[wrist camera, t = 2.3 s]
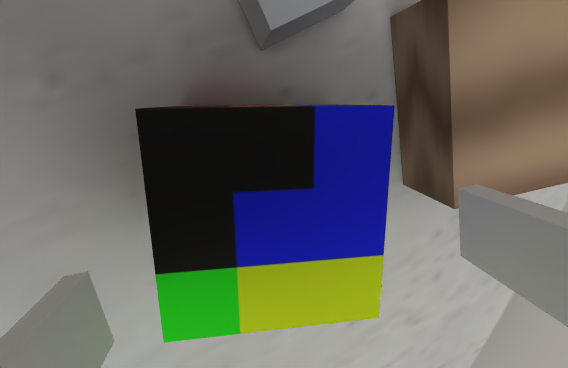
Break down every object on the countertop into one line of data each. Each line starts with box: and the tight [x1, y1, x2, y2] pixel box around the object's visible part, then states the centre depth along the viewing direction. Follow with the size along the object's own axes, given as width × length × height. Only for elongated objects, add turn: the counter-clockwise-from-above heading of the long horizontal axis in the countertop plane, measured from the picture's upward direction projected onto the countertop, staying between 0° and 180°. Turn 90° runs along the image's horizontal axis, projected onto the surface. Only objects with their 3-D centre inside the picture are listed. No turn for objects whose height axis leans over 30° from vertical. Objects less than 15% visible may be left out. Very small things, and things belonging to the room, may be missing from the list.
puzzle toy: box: [135, 104, 394, 342], centre depth 18 cm, size 10×10×10 cm
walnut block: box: [391, 0, 568, 209], centre depth 21 cm, size 12×12×6 cm
